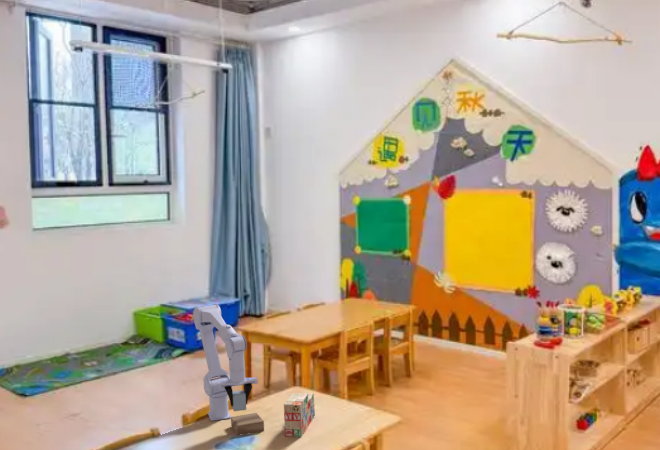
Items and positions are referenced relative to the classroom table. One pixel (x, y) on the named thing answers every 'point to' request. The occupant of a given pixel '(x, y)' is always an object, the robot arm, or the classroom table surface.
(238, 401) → the grey block
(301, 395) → the stack of blocks
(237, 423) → the walnut base
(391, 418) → the classroom table surface
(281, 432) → the classroom table surface
